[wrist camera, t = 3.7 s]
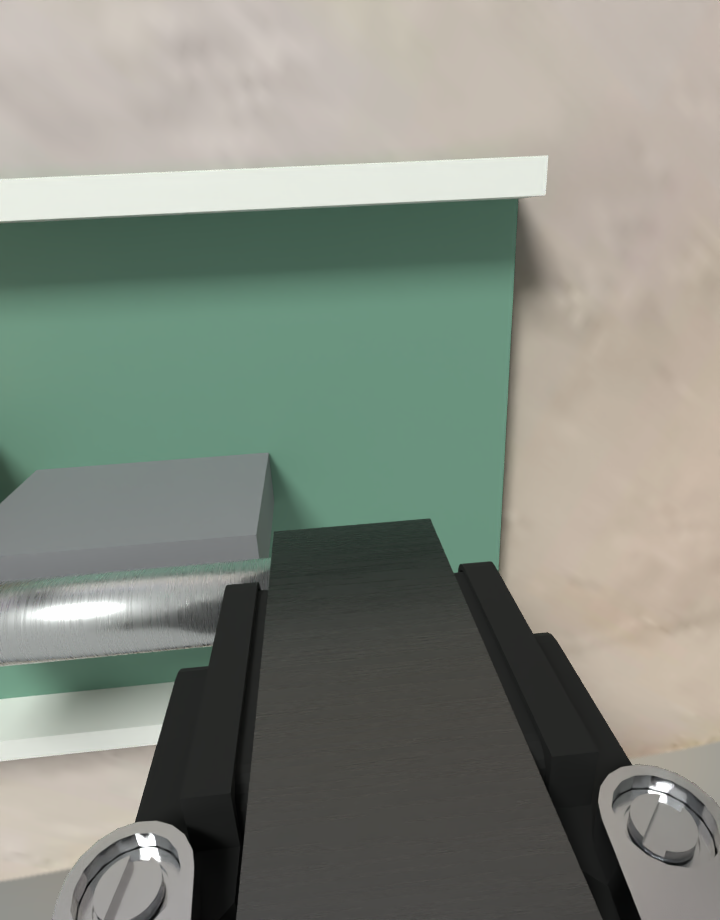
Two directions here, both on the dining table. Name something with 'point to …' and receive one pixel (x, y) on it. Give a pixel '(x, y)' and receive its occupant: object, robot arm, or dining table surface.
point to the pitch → (240, 385)
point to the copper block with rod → (347, 726)
